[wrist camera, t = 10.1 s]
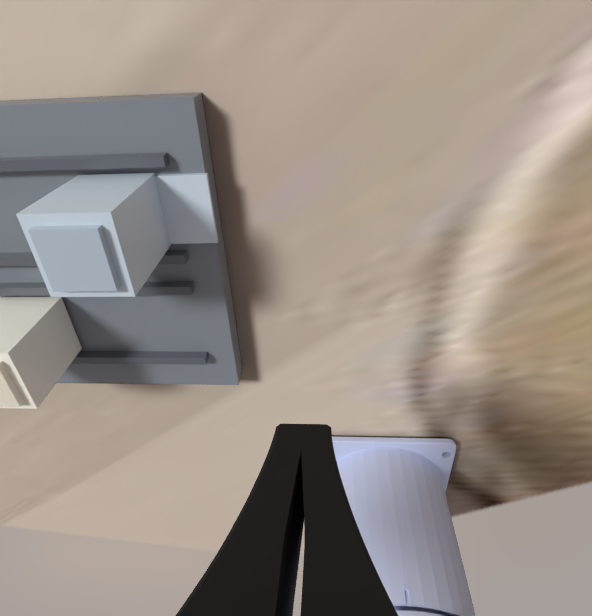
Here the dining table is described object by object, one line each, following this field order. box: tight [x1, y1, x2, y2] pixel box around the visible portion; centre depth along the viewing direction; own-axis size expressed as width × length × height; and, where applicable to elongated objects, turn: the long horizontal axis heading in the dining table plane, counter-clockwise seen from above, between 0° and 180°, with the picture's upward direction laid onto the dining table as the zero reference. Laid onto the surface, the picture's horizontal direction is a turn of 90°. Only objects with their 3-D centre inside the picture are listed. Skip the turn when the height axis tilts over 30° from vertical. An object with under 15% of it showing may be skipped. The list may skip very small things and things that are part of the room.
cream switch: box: [0, 297, 82, 409], centre depth 19 cm, size 3×3×4 cm
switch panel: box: [0, 93, 242, 385], centre depth 20 cm, size 14×13×2 cm
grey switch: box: [16, 173, 171, 297], centre depth 16 cm, size 3×3×4 cm
